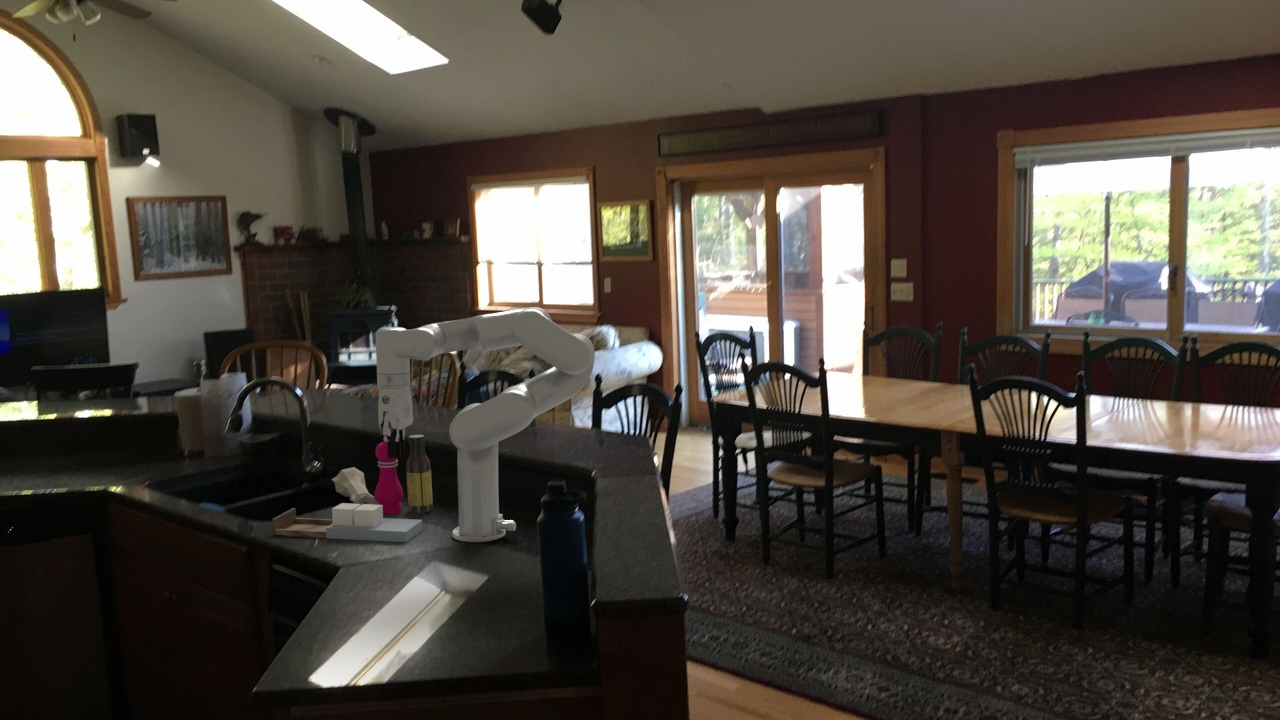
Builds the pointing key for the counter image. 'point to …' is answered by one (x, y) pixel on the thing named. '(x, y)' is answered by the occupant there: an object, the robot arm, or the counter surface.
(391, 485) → the pepper mill
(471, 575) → the counter surface
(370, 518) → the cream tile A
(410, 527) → the slate bench
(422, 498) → the sauce bottle
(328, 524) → the walnut box
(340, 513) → the cream square block
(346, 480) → the cream faceted tapered piece
